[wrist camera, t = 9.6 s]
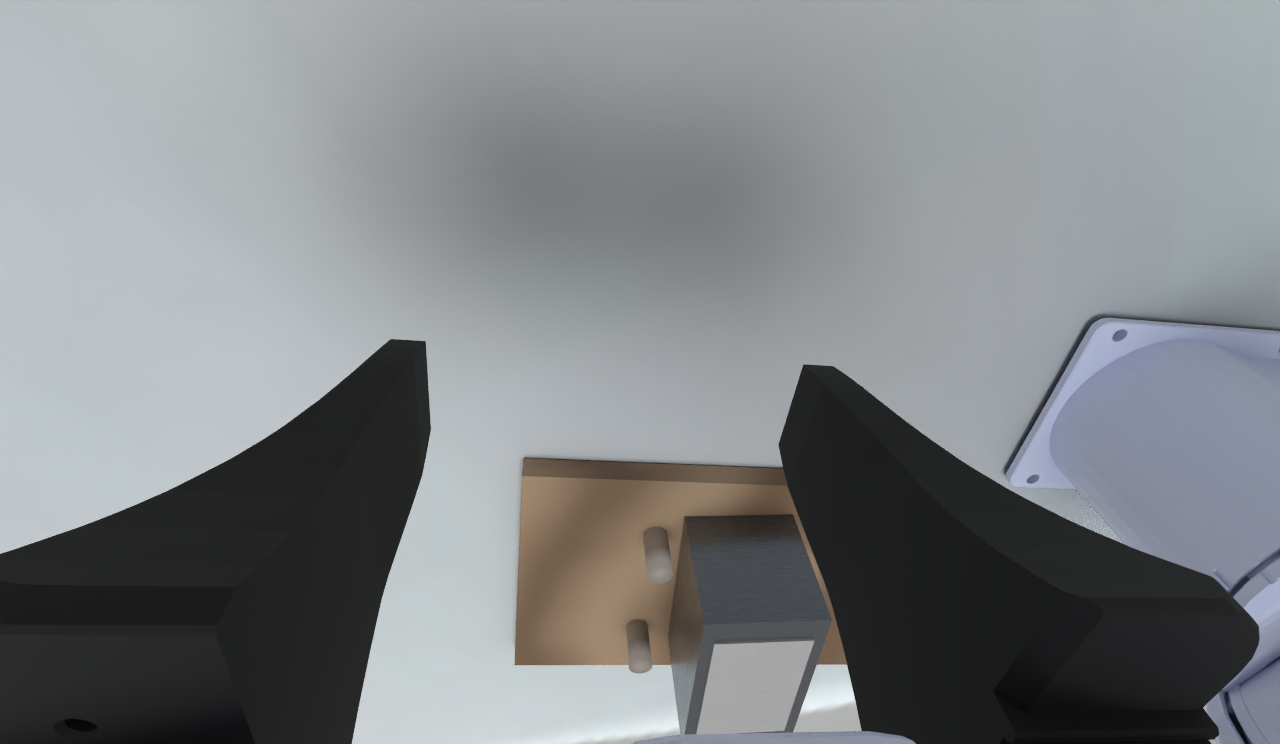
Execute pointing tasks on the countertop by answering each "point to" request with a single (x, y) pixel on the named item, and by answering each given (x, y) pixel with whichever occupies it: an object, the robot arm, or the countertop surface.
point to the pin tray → (623, 554)
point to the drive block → (744, 624)
